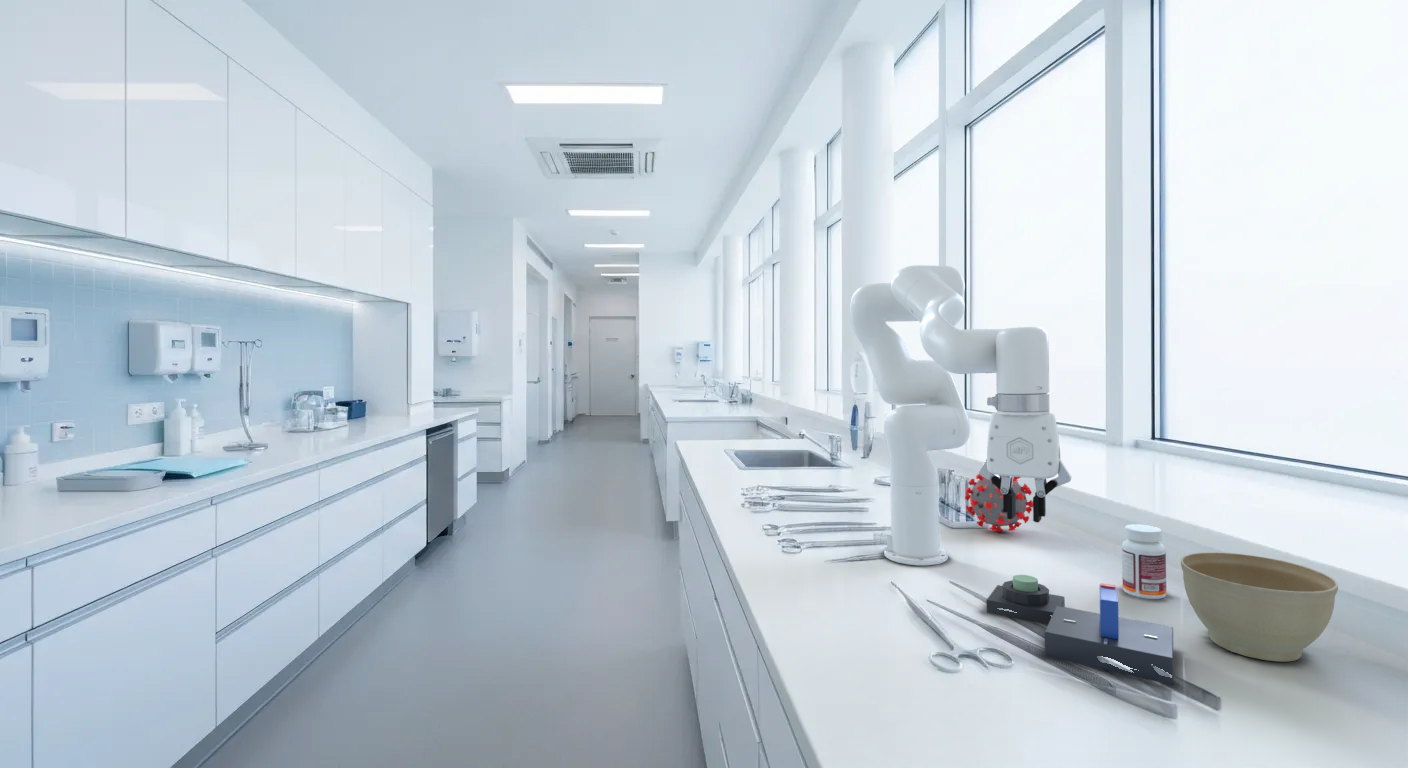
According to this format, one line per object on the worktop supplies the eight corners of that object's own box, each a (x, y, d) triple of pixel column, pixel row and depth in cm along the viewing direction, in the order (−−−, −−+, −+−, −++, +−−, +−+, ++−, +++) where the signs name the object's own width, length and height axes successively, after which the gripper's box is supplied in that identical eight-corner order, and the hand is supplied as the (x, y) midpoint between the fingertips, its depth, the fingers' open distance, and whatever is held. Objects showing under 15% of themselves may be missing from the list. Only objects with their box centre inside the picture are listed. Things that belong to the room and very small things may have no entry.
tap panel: (1044, 656, 85) (1044, 630, 85) (1056, 628, 94) (1056, 604, 94) (1173, 686, 77) (1172, 656, 77) (1173, 652, 85) (1172, 625, 85)
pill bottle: (1172, 594, 106) (1172, 528, 105) (1157, 603, 102) (1156, 534, 102) (1131, 584, 111) (1131, 521, 111) (1115, 592, 107) (1114, 527, 107)
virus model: (974, 540, 141) (973, 474, 141) (958, 523, 156) (957, 463, 155) (1043, 541, 139) (1042, 474, 138) (1020, 524, 153) (1019, 463, 153)
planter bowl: (1216, 669, 80) (1216, 585, 80) (1161, 619, 96) (1160, 549, 96) (1372, 682, 76) (1372, 594, 76) (1288, 628, 92) (1287, 555, 91)
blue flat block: (1118, 639, 82) (1118, 600, 82) (1100, 636, 83) (1100, 597, 83) (1116, 621, 87) (1116, 584, 87) (1099, 618, 88) (1099, 582, 88)
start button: (1010, 590, 100) (1010, 579, 100) (1015, 583, 103) (1015, 573, 103) (1035, 594, 98) (1035, 583, 98) (1039, 587, 101) (1039, 577, 101)
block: (986, 613, 100) (986, 588, 100) (997, 597, 107) (997, 574, 107) (1057, 627, 94) (1057, 601, 94) (1064, 610, 101) (1064, 585, 101)
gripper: (962, 405, 101) (964, 517, 102) (1079, 407, 92) (1081, 531, 92) (974, 402, 107) (976, 508, 108) (1085, 404, 98) (1086, 520, 98)
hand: (1024, 517), depth 100 cm, fingers open, 3 cm apart
